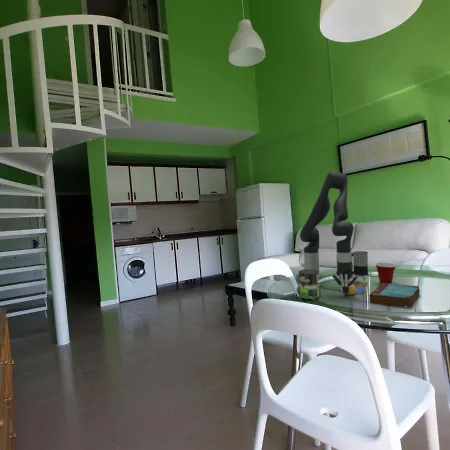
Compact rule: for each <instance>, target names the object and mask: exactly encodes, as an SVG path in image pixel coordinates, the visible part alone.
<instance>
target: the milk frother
mask: <svg viewBox="0 0 450 450" xmlns="http://www.w3.org/2000/svg"><path fill="white" fill-rule="evenodd" d="M351 255H352V269H353V273H354V275H355V276H359V277H360V276H361V277H364V276H369V266H368V265H369V260H368V255H369V252H368V251H363V250H355V251H352V252H351Z"/></svg>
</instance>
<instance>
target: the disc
mask: <svg viewBox="0 0 450 450" xmlns="http://www.w3.org/2000/svg"><path fill="white" fill-rule="evenodd" d="M354 286H355V287H356V292H355V293H354V294H353V295H355V294H357V295H358V294H363V293H366V291H367V289H366V288H364V287H363V286H357V285H354ZM340 288H341V289H342V286H341V287H340Z"/></svg>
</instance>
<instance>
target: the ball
mask: <svg viewBox="0 0 450 450" xmlns="http://www.w3.org/2000/svg"><path fill="white" fill-rule="evenodd" d="M355 286H356V285H353V284H352V285H351V286H349V292H348V293H347V294H346V295H349V294H350V295H349V296H351V295H355V294H354V293H355V292H356V287H357V286H356V287H355Z"/></svg>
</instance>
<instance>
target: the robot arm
mask: <svg viewBox="0 0 450 450" xmlns="http://www.w3.org/2000/svg"><path fill="white" fill-rule="evenodd" d="M348 180H349V179H348V177H347V174H346V173H343V172H337V171H329V172H328V173H326V176H325V179H324V181H323V184H322V187H321V190H320V193H319V194H318V197H317V199H316V202H315V203H314V206H313V208H312V210H311V212H310V213H309V216H308V218H307V220H306V222H305V224H303V227H302V228H301V230H300V234H299V238H300V241H302V242H303V243H308V244H307V245H306V246H305V247H304V248H303V259H304V262H303V270H305V269H312V270H317V271H318V272H319V273H318V277H319V279H320V278H321V273H320V256H319V249H320V233H319V229H318V228H317V226H318V225H319V224H321V222H322V221H323V220H325V218H327V216H328V213H329V212H330V210H331V202H330V198H329V192H330V190H331V189H335V190H338V191H339V194H338V196H337V198H336V199H335V201H334V202H333V207H332V208H333V224H332V227H331V234H332V235H333V236H335V237H344V236H345V238H344V239H340V240H338V241H336V245H335V246H336V259H335V260H336V272H335V273H334V274H333V275H332V278H333V280H335V282H336V283H337V284H338V286H341V287H342V290H343V292H342V293H343V294H346V295H348V294H347V293H348V292H349V286H351V285H352V284H353V283H354V282H355V280H358V275H354V270H353V268H352V263H353V256H352V255H351V253H352V247H351V245H352V244H351V243H352V238H353V234H354V230H355V228H354V224H353V223H352V222H349V221H348V219H349V211H348V204H347V201H348V200H347V199H348V182H349V181H348ZM346 220H347V221H348V222H347V221H346ZM345 221H346V222H345ZM349 280H352V281H351V282H350V283H349Z"/></svg>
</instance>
